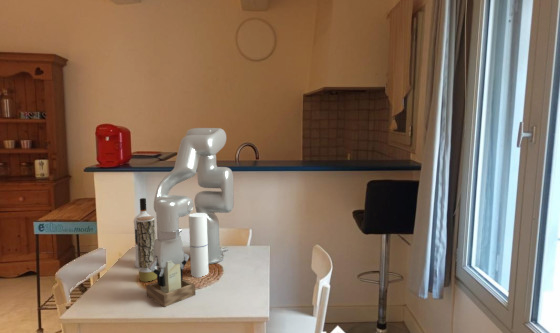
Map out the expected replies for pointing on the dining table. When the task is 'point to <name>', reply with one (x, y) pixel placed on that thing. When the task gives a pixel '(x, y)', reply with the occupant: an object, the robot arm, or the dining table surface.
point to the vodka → (142, 214)
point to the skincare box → (171, 277)
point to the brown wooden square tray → (170, 293)
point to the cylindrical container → (198, 244)
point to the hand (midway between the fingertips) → (170, 282)
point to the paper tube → (146, 247)
